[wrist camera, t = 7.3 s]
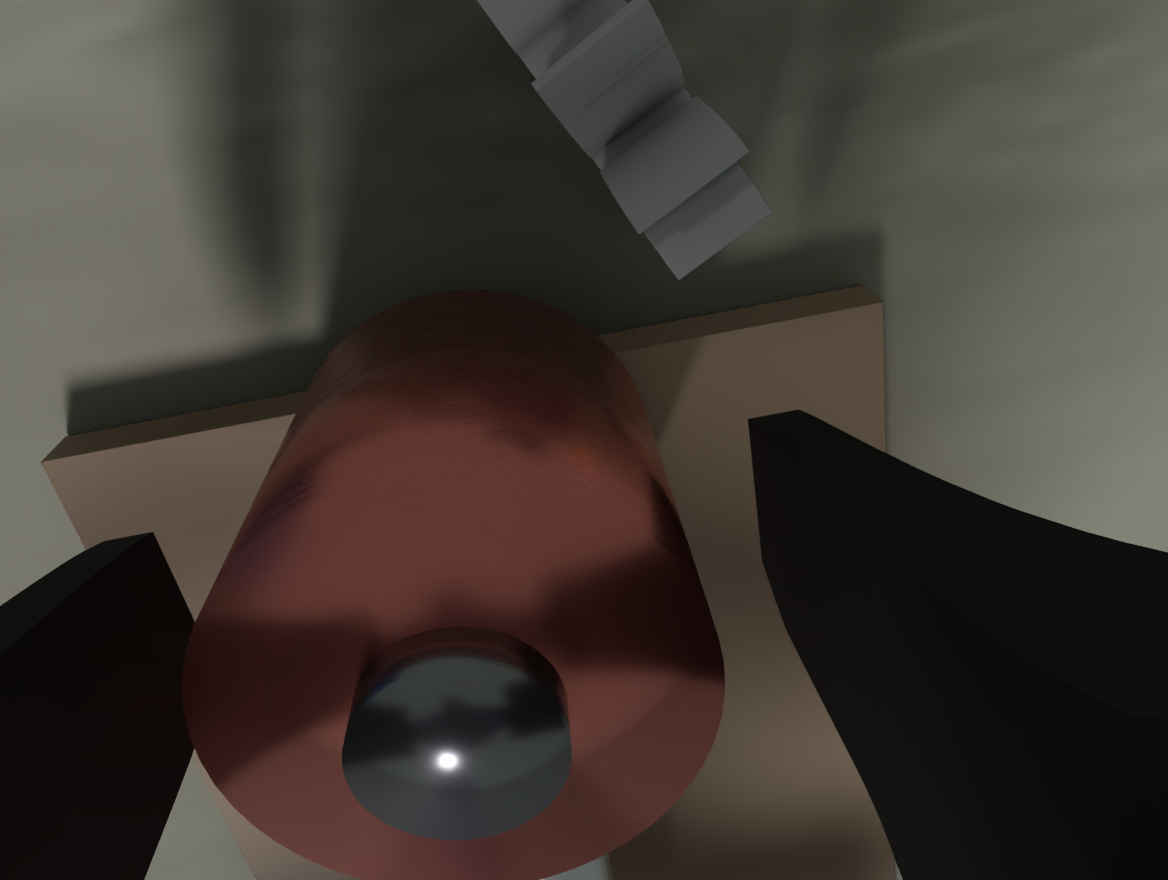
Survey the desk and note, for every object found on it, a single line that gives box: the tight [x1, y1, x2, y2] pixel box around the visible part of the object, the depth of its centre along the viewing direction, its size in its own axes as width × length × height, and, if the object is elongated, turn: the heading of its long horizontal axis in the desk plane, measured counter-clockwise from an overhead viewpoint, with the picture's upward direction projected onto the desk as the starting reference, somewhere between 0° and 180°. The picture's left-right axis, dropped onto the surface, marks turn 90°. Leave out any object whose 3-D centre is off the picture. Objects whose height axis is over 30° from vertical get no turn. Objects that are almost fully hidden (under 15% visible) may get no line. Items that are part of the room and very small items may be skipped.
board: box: [41, 285, 894, 880], centre depth 18 cm, size 21×12×1 cm, turn 10°
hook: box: [182, 291, 725, 880], centre depth 13 cm, size 14×5×6 cm, turn 10°
